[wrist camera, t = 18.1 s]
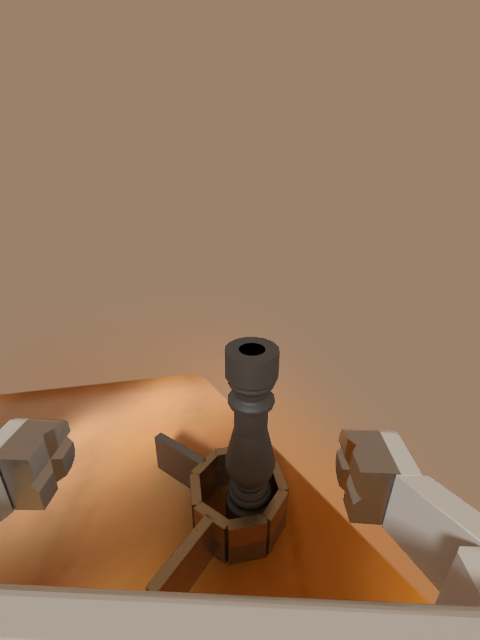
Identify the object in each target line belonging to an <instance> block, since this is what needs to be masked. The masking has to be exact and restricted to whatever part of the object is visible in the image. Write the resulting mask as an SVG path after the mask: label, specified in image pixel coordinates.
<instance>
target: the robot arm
mask: <svg viewBox="0 0 480 640" xmlns="http://www.w3.org/2000/svg"><path fill="white" fill-rule="evenodd" d="M69 432H70V428H69V424H68V422H67V421H64V420H53V419H36V418H32V419H29V418H14V419H11V420H9V421H8V422H7V423H6V424H5V425H4V426H3V427H2V428H1V429H0V522H1V521H2V520H4V519H5V518H6V517H7V516H9V515H10V514H11V513H12V512H13V510H45V508H46V507H47V505H48V504H49V502H50V501H51V499H52V497H53V496H54V494H55V493H56V491H57V490H58V486H57V482H58V481H59V480H61V479H62V478H64V477H65V476H66V475H67V474H68V472H69V470H70V469H71V467H72V464H73V460H74V457H75V448H74V444H73V442H72V441H71V440H70V439H69V438H68V437H67V435H68V434H69ZM339 442H340V445H341V448H340V449H339V450H338V451H337V455H336V474H337V479H338V483H339V486H340V487H341V488H342V489H343V490H344V491H345V494H344V499H343V500H344V504H345V507H346V511H347V514H348V518H349V521H350V523H363V524H378V525H382V527H383V528H384V529H385V530H386V531H387V533H388V534H389V535H390V536H391V537H392V538H393V539H394V541H395V542H396V543H397V544H398V545H399V546H400V547H401V548H402V550H403V551H404V552H405V553H406V554H407V555H408V556H409V557H410V559H411V560H412V561H413V562H414V563H415V564H416V565H417V566H418V568H419V569H420V570H421V571H422V572H423V573H424V574H425V576H426V577H427V578H428V579H429V580H430V581H431V582H432V583H433V585H434V586H435V587H436V588H437V589H438V590H439V591H440V594H439V596H438V598H437V600H436V603H435V604H418V603H397V602H376V601H354V600H333V599H312V598H291V597H270V596H249V595H228V594H206V593H185V592H164V591H143V590H122V589H101V588H81V587H60V586H39V585H19V584H0V640H480V513H479V512H478V511H477V510H475V509H474V508H473V507H471V506H470V505H468V504H467V503H465V502H464V501H463V500H461V499H460V498H458V497H457V496H456V495H454V494H453V493H452V492H450V491H449V490H447V489H446V488H445V487H443V486H442V485H440V484H439V483H438V482H436V481H435V480H433V479H432V478H431V477H429V476H423V475H422V474H421V472H420V470H419V468H418V467H417V465H416V463H415V461H414V460H413V458H412V456H411V455H410V453H409V451H408V449H407V448H406V446H405V444H404V443H403V441H402V439H401V438H400V436H399V434H398V433H397V432H396V431H395V430H352V429H350V430H349V429H342V430H341V432H340V436H339Z"/></svg>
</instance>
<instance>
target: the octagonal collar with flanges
mask: <svg viewBox="0 0 480 640" xmlns="http://www.w3.org/2000/svg"><path fill="white" fill-rule="evenodd" d="M155 444H156V453H157V461H158V468H160V469H161V470H163V471H164V472H166V473H168V474H169V475H171V476H172V477H174V478H175V479H177V480H178V481H180V482H181V483H183V484H184V485H186V486H187V487H189V488H191V501H192V516H193V530H192V531H191V533H190V534H189V535H188V536H187V537H186V539H185V540H184V541H183V542H182V543H181V545H180V546H179V547H178V548H177V550H176V551H175V552H174V553H173V554H172V556H171V557H170V558H169V559H168V560H167V562H166V563H165V564H164V565H163V567H162V568H161V569H160V570H159V571H158V573H157V574H156V575H155V576H154V577H153V579H152V580H151V581H150V582H149V584H148V585H147V586H146V591H164V592H185V593H188V591H189V590H190V588H191V587H192V585H193V584H194V583H195V581H196V580H197V578H198V577H199V576H200V574H201V573H202V571H203V570H204V569H205V567H206V566H207V564H208V563H209V562H210V560H211V559H212V557H213V556H215V557H216V558H218V559H219V560H220V561H222V562H223V563H224V564H225V562H226V561H227V559H228V564H234V563H239V562H244V561H249V560H254V559H259V558H264V557H265V554H266V553H267V554H268V555H269V553H270V551H271V550H272V548H273V546H274V544H275V543H276V541H277V539H278V537H279V535H280V534H281V532H282V530H283V528H284V527H285V523H286V512H287V502H288V491H289V489H288V486H287V483H286V481H285V478H284V475H283V473H282V470H281V468H280V465H279V462H278V461H277V462H276V459H275V458H274V459H275V468H274V471H273V474H272V476H271V478H270V479H269V482H270V484H271V490H272V494H273V499H272V500H271V502H270V503H269V505H268V506H267V508H266V509H265V511H264V512H263V514H258V515H252V516H246V517H241V518H235V519H230V520H229V519H227V518H226V517H224V516H223V515H221V514H220V513H218V512H217V511H215V510H214V509H212V508H211V507H209V506H208V505H206V504H205V501H206V500H207V499H208V498H209V497H210V496H211V494H212V493H213V492H214V491H215V490H216V489H217V487H218V486H224V485H228V484H229V482H230V480H231V479H230V477H229V475H228V473H227V470H226V468H225V459H226V453H227V450H228V447H226V448H219V449H215V452H214V451H211V452H210V453H209V454H208V455H207V456H206V457H205V458H204V457H203V456H201V455H199V454H197V453H196V452H194V451H192V450H190V449H189V448H187V447H185V446H183V445H182V444H180V443H178V442H176V441H175V440H173V439H171V438H169V437H168V436H166V435H164V434H162V433H160V434H158V435H157V436H156V437H155Z"/></svg>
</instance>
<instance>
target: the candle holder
mask: <svg viewBox="0 0 480 640" xmlns="http://www.w3.org/2000/svg"><path fill="white" fill-rule="evenodd" d="M279 353H280V352H279V347H278V346H277V345H276V344H275V343H273V342H272V341H270V340H267V339H264V338H258V337H244V338H239V339H235V340H233V341H231V342H229V343H228V344H227V345H226V346H225V377H226V379H227V381H228V384H229V386H230V387H231V389H232V391H231V392H230V393H229V395H228V404H229V406H230V407H231V409H232V410H233V411H234V429H233V432H232V436H231V439H230V443H229V446H228V450H227V453H226V459H225V468H226V470H227V473H228V475H229V477H230V479H231V480H230V482H229V484H228V490H227V492H226V518H227V519H229V520H230V519H235V518H241V517H246V516H252V515H258V514H263V512H264V511H265V509H266V508H267V506H268V505H269V503H270V502H271V500H272V499H273V494H272V490H271V484H270V482H269V479H270V478H271V476H272V474H273V471H274V468H275V459H274V453H273V449H272V445H271V441H270V437H269V433H268V429H267V421H268V412H269V411H270V410H271V409H272V407H273V405H274V402H275V399H274V394H273V393H272V392H271V390H272V388H273V387H274V385H275V382H276V380H277V379H278V371H279Z"/></svg>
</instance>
